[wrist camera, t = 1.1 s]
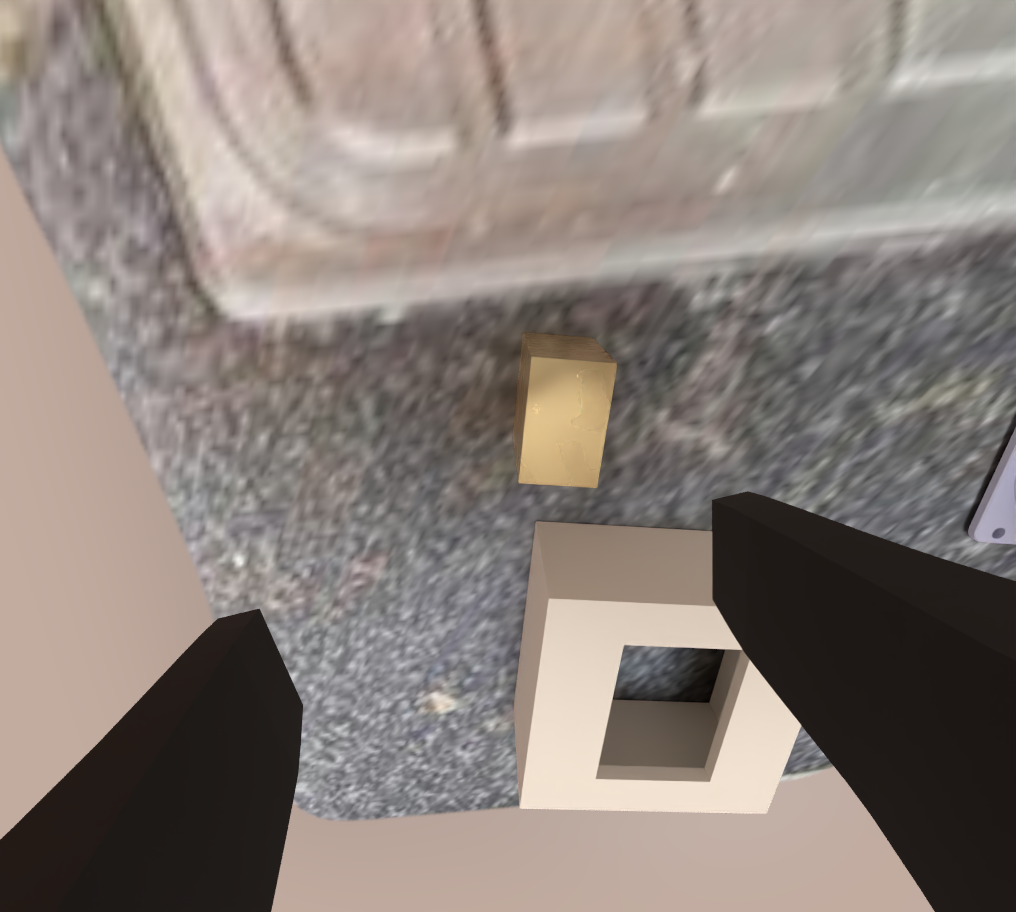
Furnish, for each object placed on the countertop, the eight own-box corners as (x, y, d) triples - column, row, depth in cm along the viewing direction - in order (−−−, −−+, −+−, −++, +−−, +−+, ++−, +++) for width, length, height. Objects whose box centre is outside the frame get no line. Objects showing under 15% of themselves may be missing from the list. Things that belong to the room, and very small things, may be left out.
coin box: (774, 534, 23) (845, 612, 18) (718, 712, 27) (766, 813, 22) (535, 521, 22) (548, 598, 18) (513, 705, 26) (519, 808, 22)
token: (592, 337, 20) (617, 363, 16) (577, 441, 21) (597, 487, 18) (522, 331, 20) (531, 357, 16) (512, 437, 21) (518, 482, 17)
